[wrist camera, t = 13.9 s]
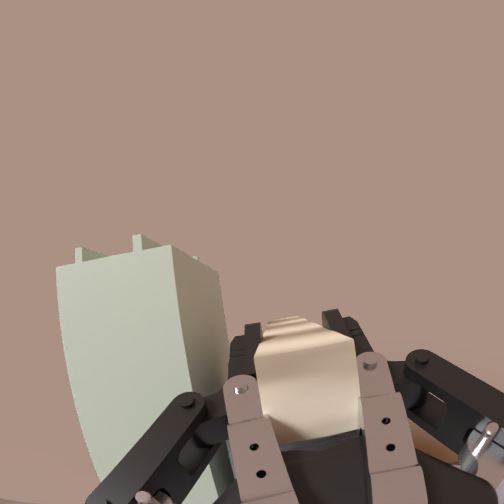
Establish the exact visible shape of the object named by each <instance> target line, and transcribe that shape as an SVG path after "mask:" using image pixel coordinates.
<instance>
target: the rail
mask: <svg viewBox="0 0 504 504" xmlns="http://www.w3.org/2000/svg"><path fill="white" fill-rule="evenodd" d="M254 363H255V369H256V375H257V382H258V388H259V394H260V400H261V406H262V412H263V414H268V415H269V418H270V421H271V424H272V427H273V430H274V433H275V436H276V439H277V443H278V444H285V443H292V442H298V441H304V440H310V439H315V438H320V437H325V436H330V435H335V434H339V433H343V432H348V431H352V430H356V429H358V397H359V396H360V387H359V377H358V368H357V360H356V352H355V344H354V339H352V338H350V337H347V336H345V335H342V334H340V333H337V332H335V331H330V330H328V329H326V328H324V327H323V326H321V325H318V324H316V323H313V322H311V321H309V320H306V319H304V318H302V317H299V316H296V317H290V318H284V319H278V320H272V321H269V322H268V324H267V327H266V329H265V332H264V334H263V339H262V342H261V343H259V346H258V348H257V351H256V353H255V355H254Z"/></svg>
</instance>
